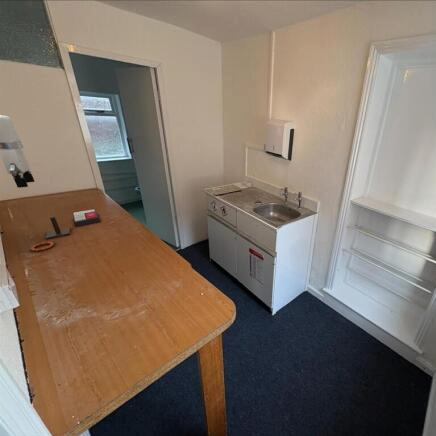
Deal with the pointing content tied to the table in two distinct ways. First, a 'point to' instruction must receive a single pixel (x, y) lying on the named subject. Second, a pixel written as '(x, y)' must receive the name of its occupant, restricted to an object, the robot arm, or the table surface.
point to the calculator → (85, 217)
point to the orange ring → (42, 244)
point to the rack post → (57, 230)
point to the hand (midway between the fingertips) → (26, 184)
